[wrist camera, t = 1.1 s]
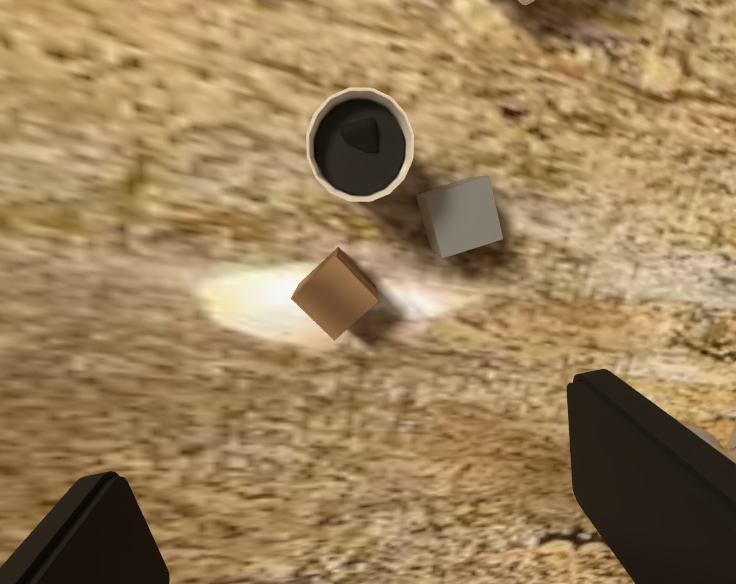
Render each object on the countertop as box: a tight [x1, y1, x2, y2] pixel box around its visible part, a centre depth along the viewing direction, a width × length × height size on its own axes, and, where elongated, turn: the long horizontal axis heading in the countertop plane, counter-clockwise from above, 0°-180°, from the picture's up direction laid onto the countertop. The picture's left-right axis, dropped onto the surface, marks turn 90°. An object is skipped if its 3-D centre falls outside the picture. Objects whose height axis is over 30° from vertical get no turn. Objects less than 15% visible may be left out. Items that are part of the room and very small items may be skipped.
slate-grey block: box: [416, 176, 503, 258], centre depth 33 cm, size 5×5×5 cm
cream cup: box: [306, 87, 414, 202], centre depth 29 cm, size 7×7×10 cm
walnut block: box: [291, 247, 379, 340], centre depth 34 cm, size 5×5×5 cm
